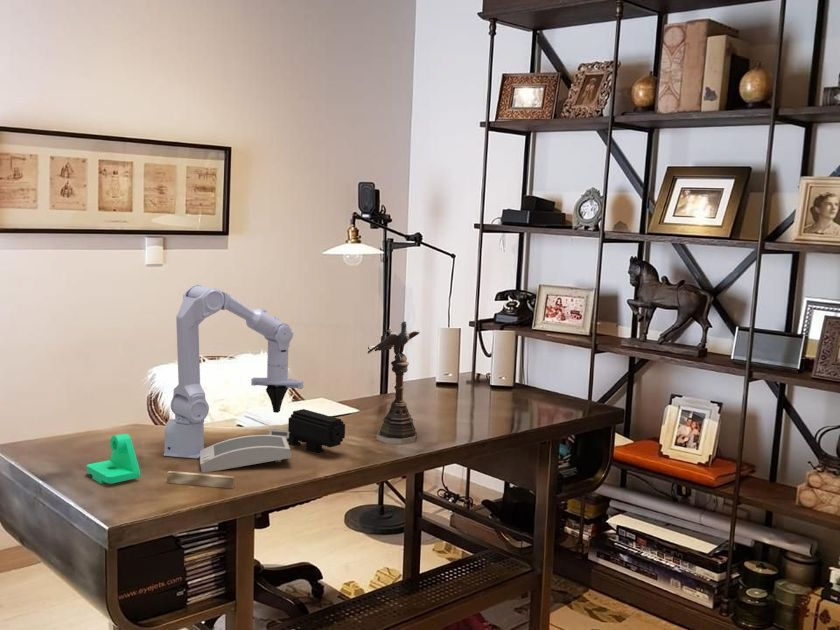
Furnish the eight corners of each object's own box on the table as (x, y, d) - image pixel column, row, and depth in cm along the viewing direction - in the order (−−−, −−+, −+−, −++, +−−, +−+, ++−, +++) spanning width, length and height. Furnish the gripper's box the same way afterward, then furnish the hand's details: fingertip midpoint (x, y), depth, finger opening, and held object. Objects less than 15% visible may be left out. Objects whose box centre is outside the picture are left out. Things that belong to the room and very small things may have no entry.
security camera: (299, 440, 237) (299, 406, 235) (346, 455, 225) (347, 418, 224) (280, 445, 231) (281, 410, 230) (327, 460, 220) (328, 423, 218)
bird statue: (354, 433, 246) (357, 315, 241) (388, 427, 255) (393, 312, 250) (389, 447, 234) (394, 322, 229) (425, 440, 242) (430, 320, 238)
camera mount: (85, 475, 201) (84, 433, 200) (115, 469, 207) (115, 428, 205) (109, 488, 193) (108, 445, 192) (140, 481, 198) (139, 439, 197)
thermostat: (199, 460, 218) (199, 437, 217) (286, 455, 223) (286, 433, 223) (200, 473, 207) (200, 449, 206) (291, 469, 213) (291, 445, 212)
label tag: (268, 440, 236) (269, 428, 235) (269, 440, 236) (269, 427, 236) (289, 442, 235) (289, 429, 234) (290, 441, 235) (290, 429, 235)
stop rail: (167, 482, 198) (167, 472, 198) (169, 481, 199) (169, 470, 199) (232, 488, 196) (232, 478, 196) (234, 486, 197) (234, 476, 197)
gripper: (306, 363, 239) (305, 410, 241) (257, 360, 241) (256, 406, 243) (299, 368, 232) (298, 416, 234) (249, 364, 234) (248, 412, 236)
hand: (276, 411), depth 238 cm, fingers closed
